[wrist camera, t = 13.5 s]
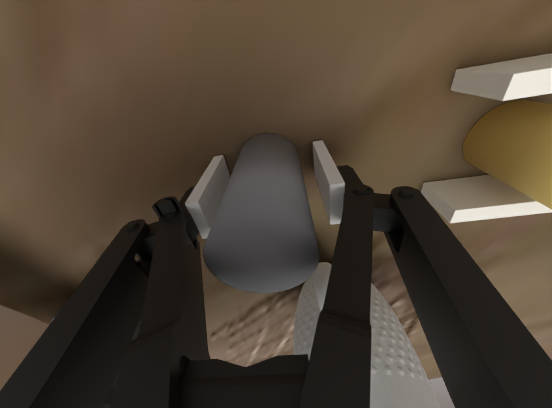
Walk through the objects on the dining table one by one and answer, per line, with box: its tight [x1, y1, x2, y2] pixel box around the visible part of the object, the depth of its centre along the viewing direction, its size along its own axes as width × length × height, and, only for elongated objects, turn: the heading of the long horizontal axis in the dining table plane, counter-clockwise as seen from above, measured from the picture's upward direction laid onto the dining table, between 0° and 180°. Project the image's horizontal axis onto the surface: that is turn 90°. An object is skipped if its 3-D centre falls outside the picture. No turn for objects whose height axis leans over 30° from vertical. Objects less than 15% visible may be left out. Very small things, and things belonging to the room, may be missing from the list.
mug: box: [293, 262, 441, 408], centre depth 20 cm, size 15×11×13 cm
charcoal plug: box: [203, 133, 320, 293], centre depth 13 cm, size 5×5×10 cm
